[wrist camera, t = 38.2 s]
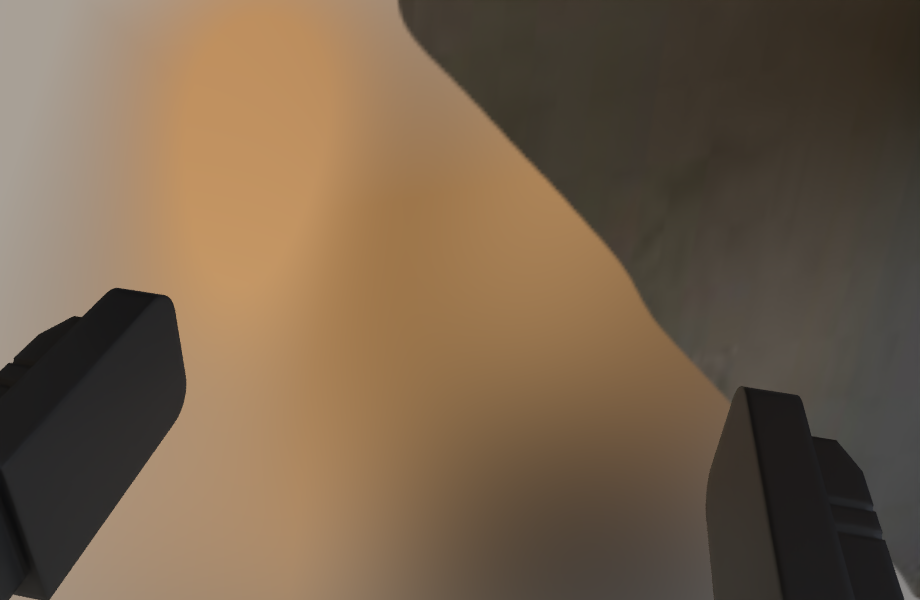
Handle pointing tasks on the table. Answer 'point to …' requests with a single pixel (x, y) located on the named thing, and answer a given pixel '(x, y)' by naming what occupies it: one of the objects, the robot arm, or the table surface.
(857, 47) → the table surface
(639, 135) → the table surface
